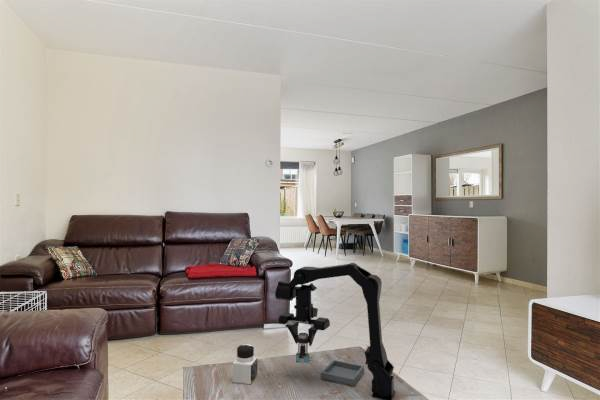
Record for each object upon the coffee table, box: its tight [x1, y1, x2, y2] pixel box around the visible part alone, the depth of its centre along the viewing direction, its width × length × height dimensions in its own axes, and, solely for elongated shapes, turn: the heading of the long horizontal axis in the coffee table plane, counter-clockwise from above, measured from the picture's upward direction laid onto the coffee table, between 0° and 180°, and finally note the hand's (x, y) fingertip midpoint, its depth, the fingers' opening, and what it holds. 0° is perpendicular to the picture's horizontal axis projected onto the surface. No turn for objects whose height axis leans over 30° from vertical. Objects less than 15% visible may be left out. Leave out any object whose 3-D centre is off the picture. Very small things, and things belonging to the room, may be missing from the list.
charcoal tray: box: [320, 359, 365, 388], centre depth 138 cm, size 13×13×2 cm
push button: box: [295, 332, 314, 364], centre depth 135 cm, size 7×5×10 cm
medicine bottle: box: [232, 343, 258, 385], centre depth 135 cm, size 7×7×12 cm
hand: (303, 344), depth 135 cm, fingers closed on push button, 5 cm apart
